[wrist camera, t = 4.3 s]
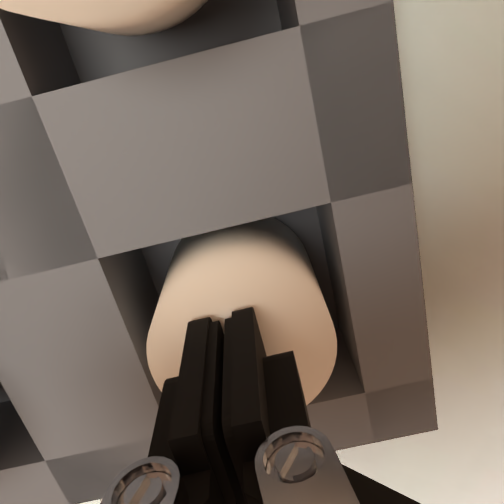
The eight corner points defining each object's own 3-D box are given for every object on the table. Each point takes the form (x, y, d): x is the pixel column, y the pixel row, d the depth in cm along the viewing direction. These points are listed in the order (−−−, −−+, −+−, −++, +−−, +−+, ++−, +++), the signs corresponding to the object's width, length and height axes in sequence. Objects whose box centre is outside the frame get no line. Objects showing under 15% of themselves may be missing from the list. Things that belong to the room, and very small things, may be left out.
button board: (294, -375, 10) (327, -621, 6) (395, 353, 18) (437, 429, 14) (-492, -125, 11) (-841, -214, 8) (-81, 456, 19) (-157, 551, 15)
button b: (295, 194, 15) (318, 246, 10) (321, 321, 16) (350, 406, 12) (150, 229, 15) (119, 293, 11) (192, 350, 17) (178, 443, 13)
